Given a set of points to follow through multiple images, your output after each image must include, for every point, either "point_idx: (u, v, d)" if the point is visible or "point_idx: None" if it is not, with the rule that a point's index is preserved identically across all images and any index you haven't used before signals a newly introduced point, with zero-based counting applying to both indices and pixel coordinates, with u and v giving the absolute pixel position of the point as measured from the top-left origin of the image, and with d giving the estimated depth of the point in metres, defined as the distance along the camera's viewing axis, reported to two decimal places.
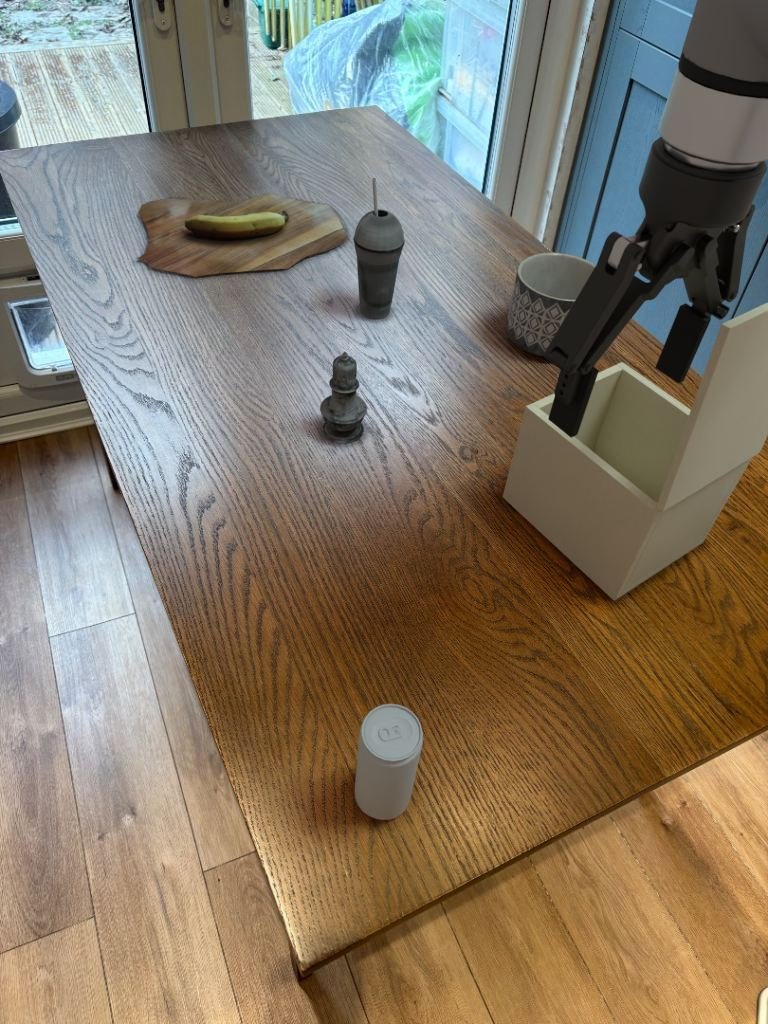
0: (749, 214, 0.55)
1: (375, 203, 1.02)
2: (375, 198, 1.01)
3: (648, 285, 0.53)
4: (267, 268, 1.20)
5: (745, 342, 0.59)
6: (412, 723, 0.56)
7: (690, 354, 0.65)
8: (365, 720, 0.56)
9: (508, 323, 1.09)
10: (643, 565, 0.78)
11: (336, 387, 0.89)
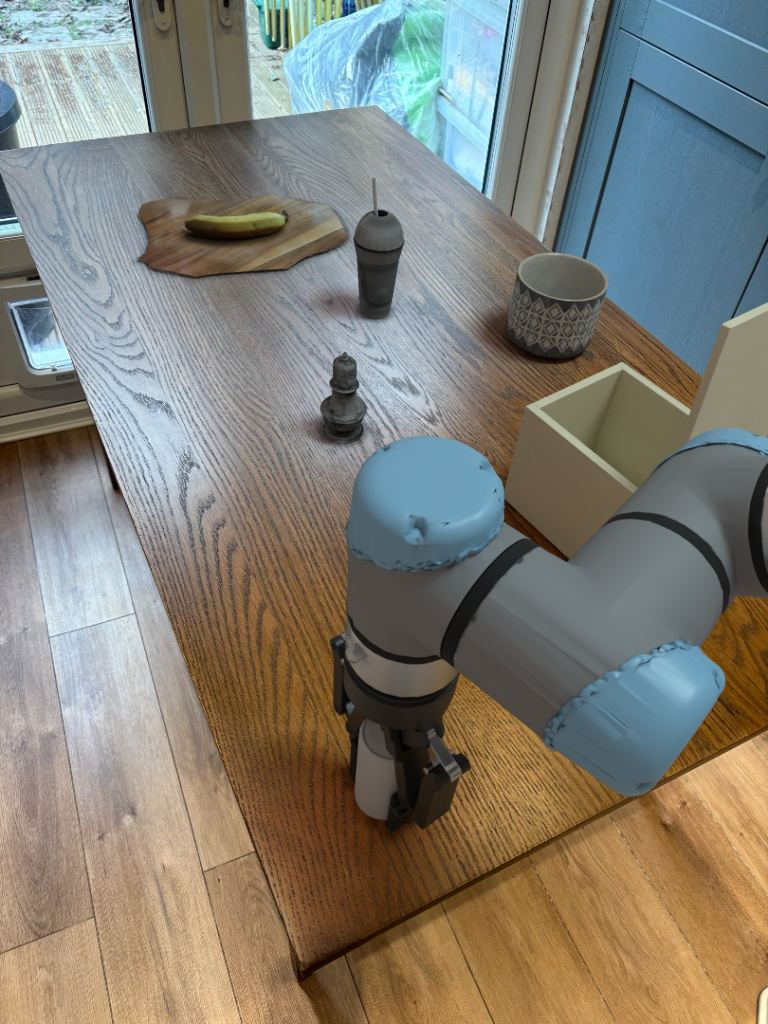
0: None
1: (375, 203, 1.02)
2: (375, 198, 1.01)
3: None
4: (267, 268, 1.20)
5: (745, 342, 0.59)
6: None
7: None
8: (365, 720, 0.56)
9: (508, 323, 1.09)
10: None
11: (337, 387, 0.89)
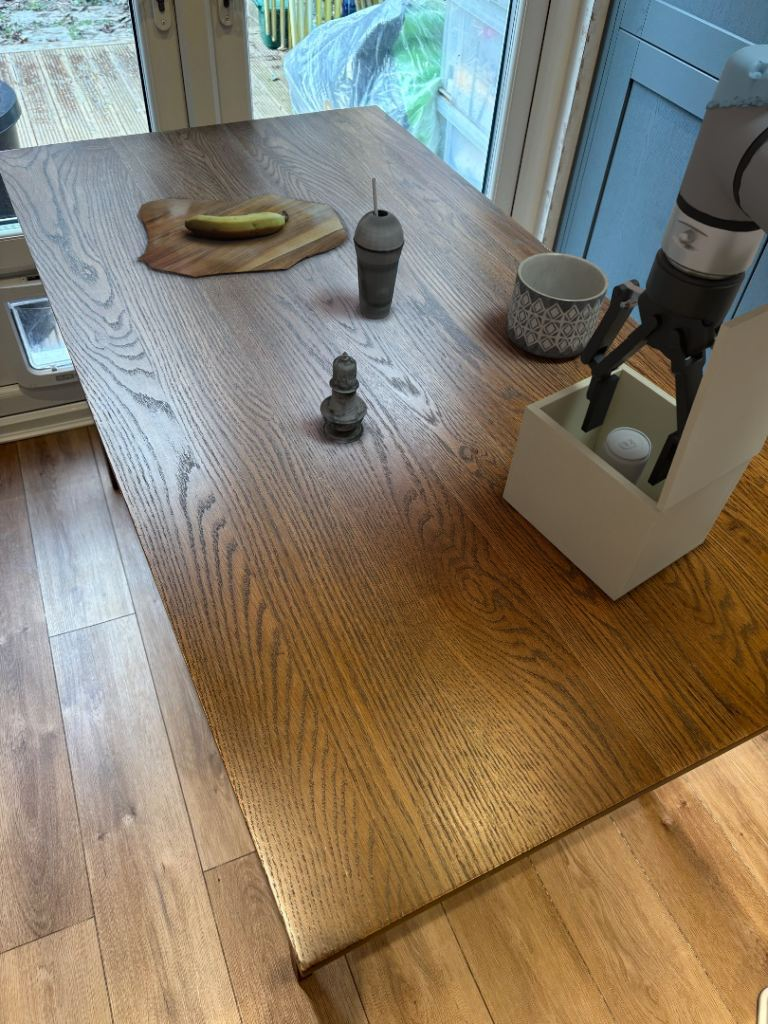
0: None
1: (375, 203, 1.02)
2: (375, 198, 1.01)
3: (702, 359, 0.69)
4: (267, 268, 1.20)
5: (745, 342, 0.59)
6: (641, 437, 0.78)
7: (609, 402, 0.81)
8: (608, 438, 0.77)
9: (508, 323, 1.09)
10: (643, 565, 0.78)
11: (336, 387, 0.89)
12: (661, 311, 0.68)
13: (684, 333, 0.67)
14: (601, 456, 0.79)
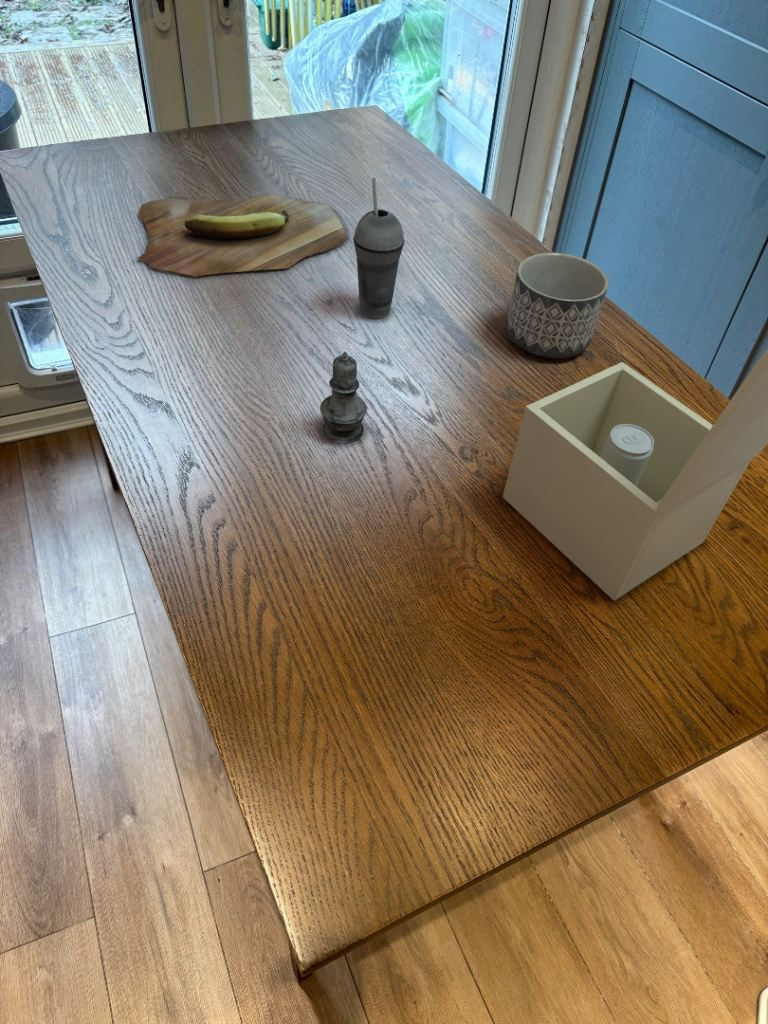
0: None
1: (375, 203, 1.02)
2: (375, 198, 1.01)
3: None
4: (267, 268, 1.20)
5: None
6: (643, 433, 0.79)
7: None
8: (611, 433, 0.78)
9: (508, 323, 1.09)
10: (643, 565, 0.78)
11: (336, 387, 0.89)
12: None
13: None
14: (604, 452, 0.79)
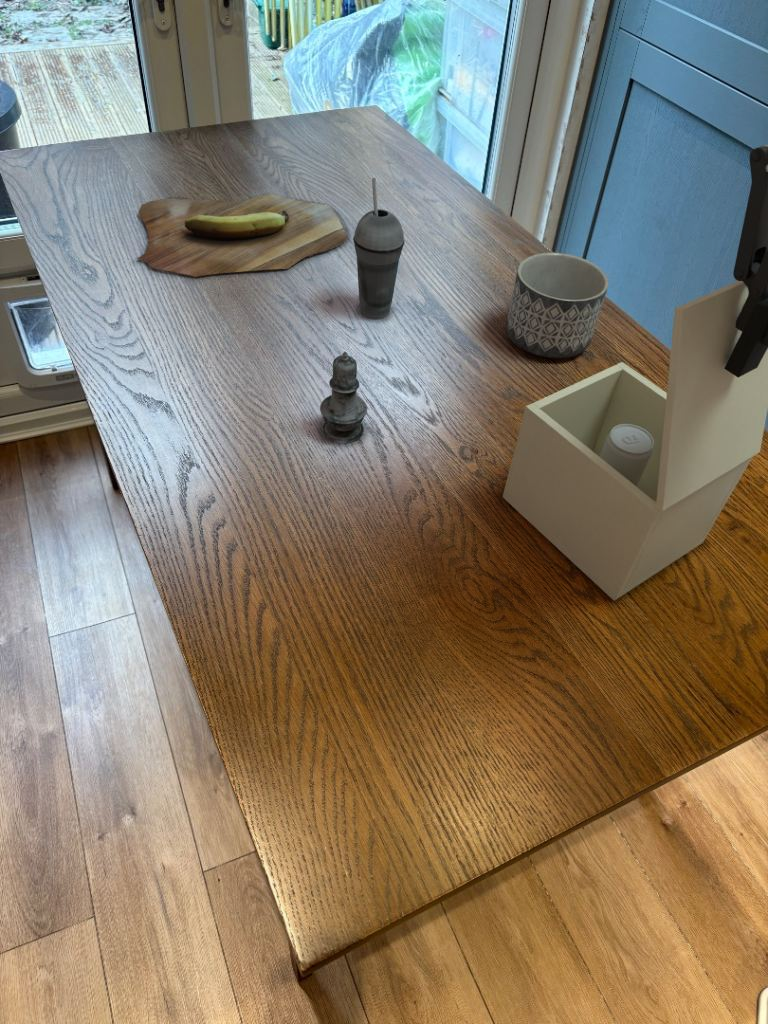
0: None
1: (375, 203, 1.02)
2: (375, 198, 1.01)
3: None
4: (267, 268, 1.20)
5: (705, 325, 0.61)
6: (643, 433, 0.79)
7: None
8: (611, 433, 0.78)
9: (508, 323, 1.09)
10: (643, 565, 0.78)
11: (337, 387, 0.89)
12: None
13: None
14: (604, 452, 0.79)
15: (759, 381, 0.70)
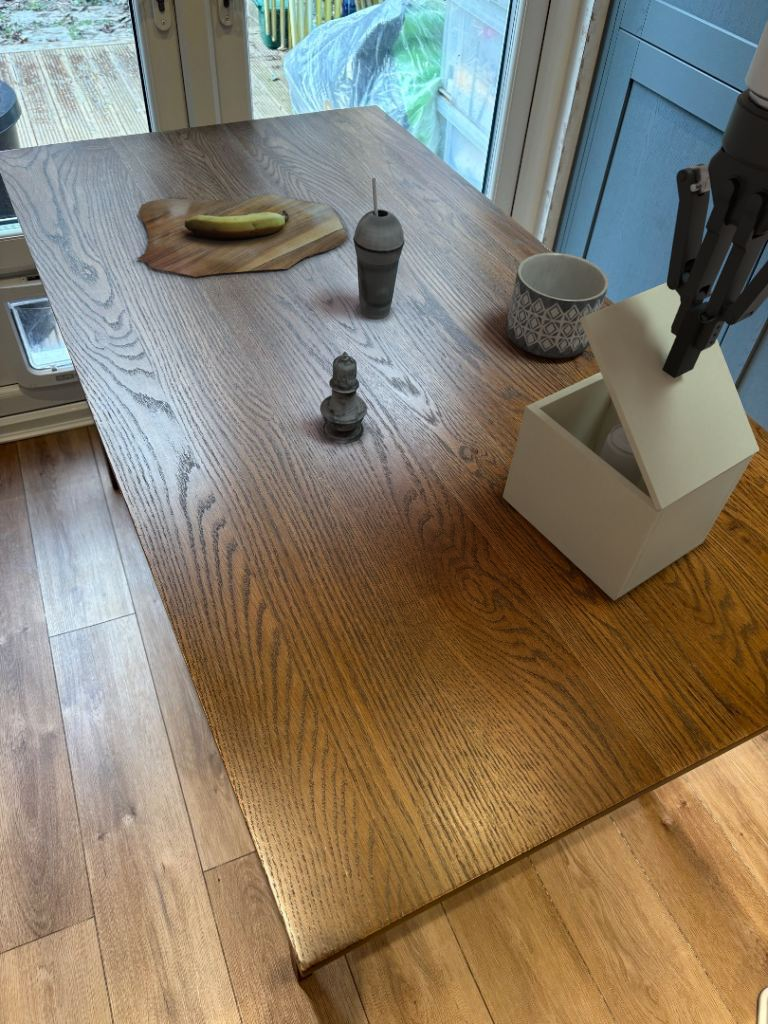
0: None
1: (375, 203, 1.02)
2: (375, 198, 1.01)
3: None
4: (267, 268, 1.20)
5: (618, 329, 0.69)
6: None
7: None
8: (611, 433, 0.78)
9: (508, 323, 1.09)
10: (643, 565, 0.78)
11: (336, 387, 0.89)
12: (738, 174, 0.57)
13: (767, 202, 0.56)
14: (604, 452, 0.79)
15: (715, 378, 0.73)
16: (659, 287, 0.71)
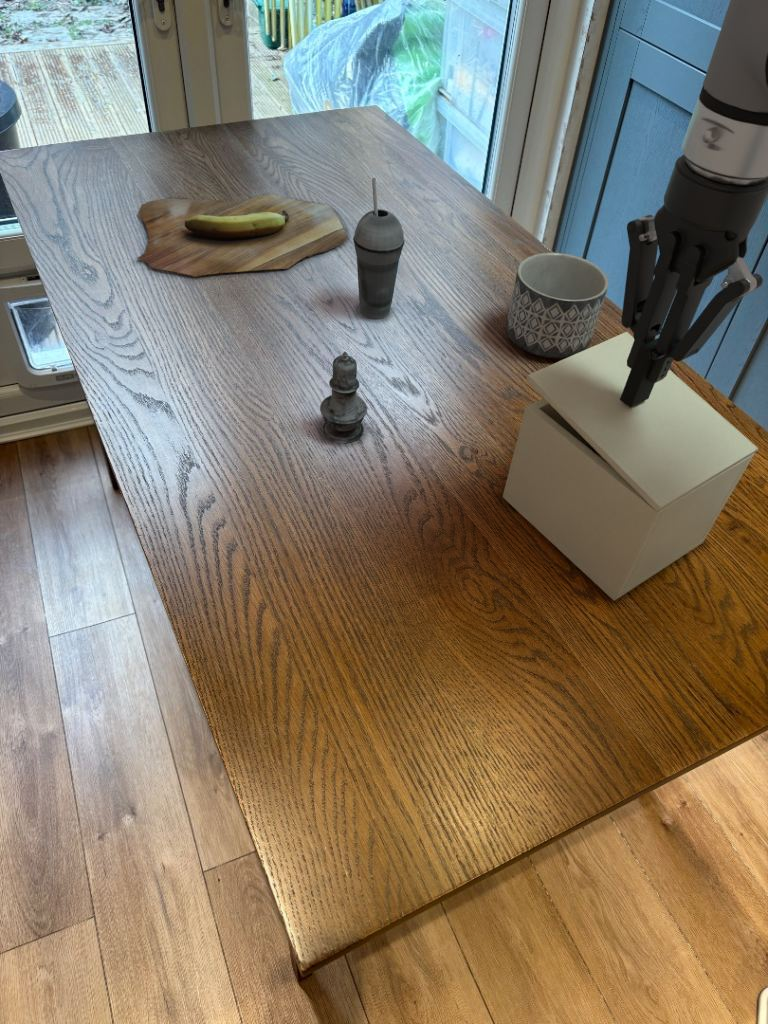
0: None
1: (375, 203, 1.02)
2: (375, 198, 1.01)
3: (709, 280, 0.65)
4: (267, 268, 1.20)
5: (564, 378, 0.77)
6: None
7: None
8: None
9: (508, 323, 1.09)
10: (643, 565, 0.78)
11: (337, 387, 0.89)
12: (680, 228, 0.63)
13: (705, 254, 0.62)
14: None
15: (682, 400, 0.78)
16: (597, 345, 0.81)
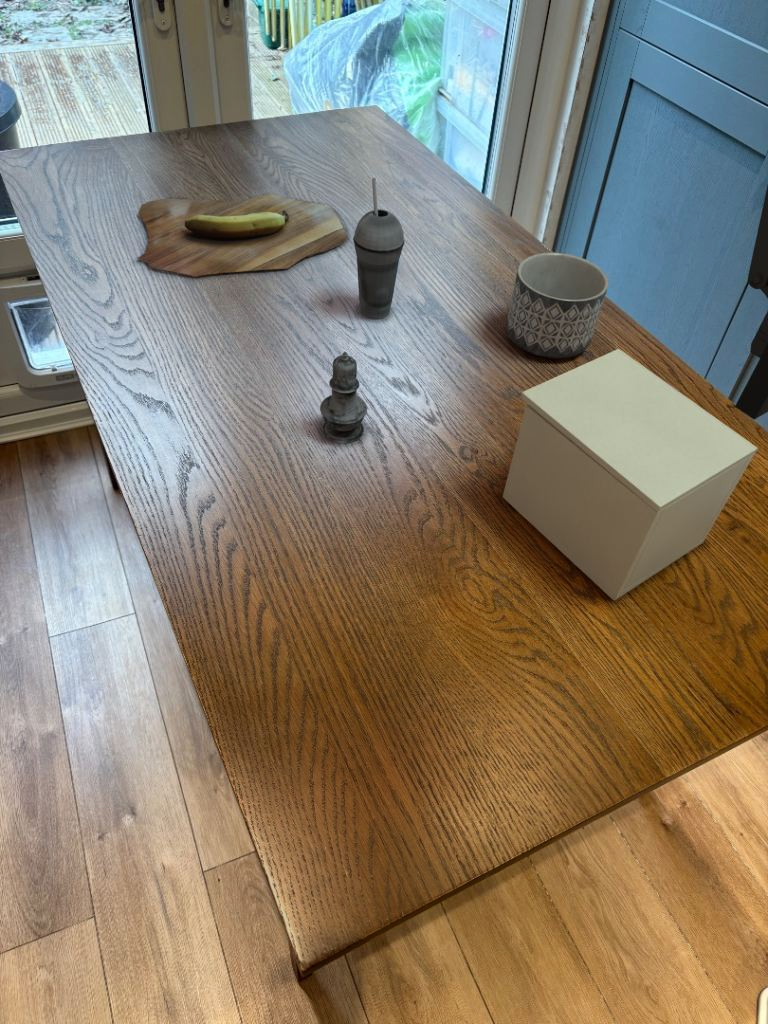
0: None
1: (375, 203, 1.02)
2: (375, 198, 1.01)
3: None
4: (267, 268, 1.20)
5: (558, 393, 0.79)
6: None
7: None
8: None
9: (508, 323, 1.09)
10: (643, 565, 0.78)
11: (337, 387, 0.89)
12: None
13: None
14: None
15: (677, 407, 0.79)
16: (589, 362, 0.83)
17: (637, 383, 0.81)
